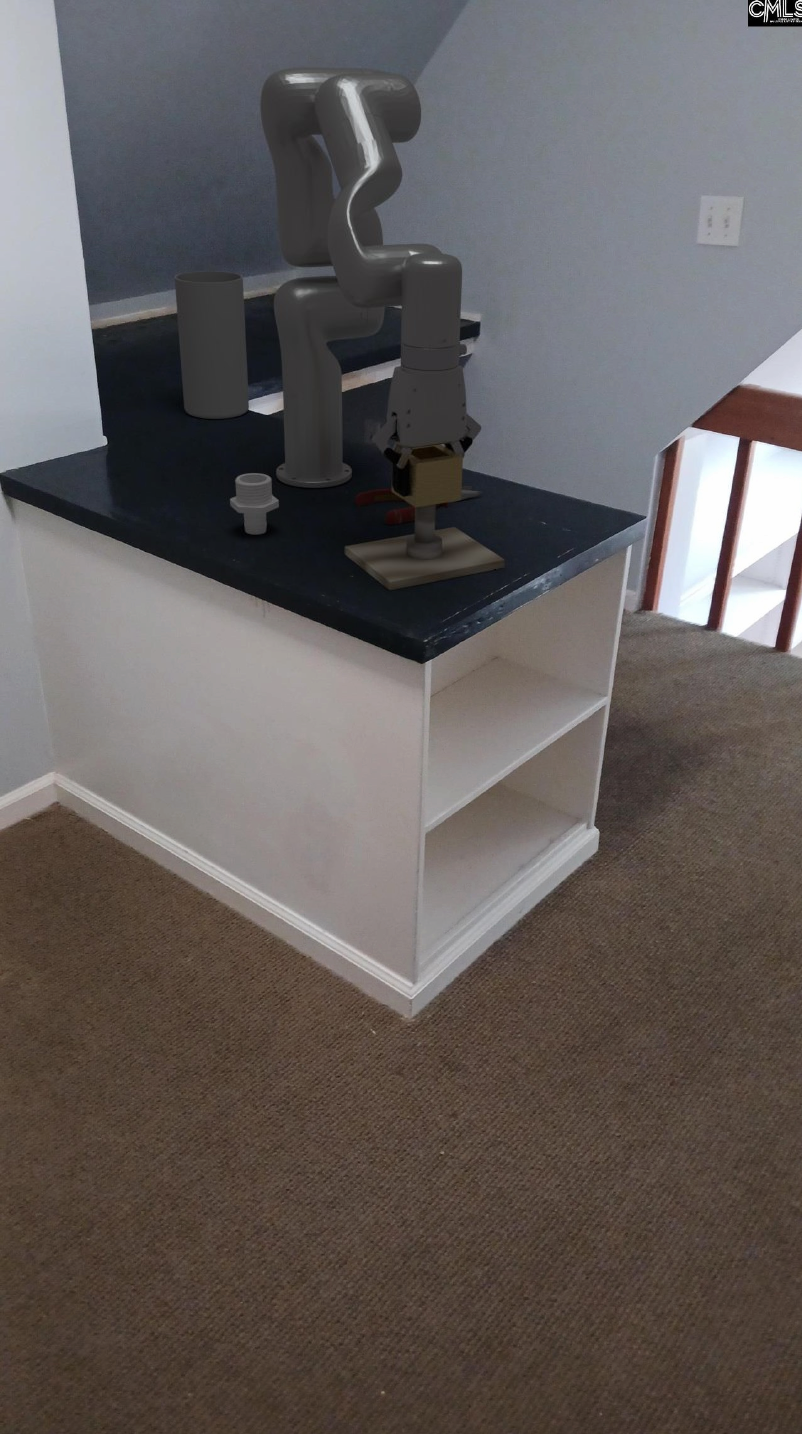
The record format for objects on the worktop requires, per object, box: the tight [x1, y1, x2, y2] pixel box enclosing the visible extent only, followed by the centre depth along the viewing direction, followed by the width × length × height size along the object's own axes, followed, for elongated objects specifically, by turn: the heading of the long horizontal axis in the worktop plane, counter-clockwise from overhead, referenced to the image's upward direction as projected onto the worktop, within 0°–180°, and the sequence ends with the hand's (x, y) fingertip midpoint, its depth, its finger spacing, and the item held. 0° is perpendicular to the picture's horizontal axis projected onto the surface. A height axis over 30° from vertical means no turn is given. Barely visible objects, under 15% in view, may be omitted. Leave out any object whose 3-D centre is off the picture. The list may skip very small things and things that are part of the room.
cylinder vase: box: [174, 270, 250, 420], centre depth 223 cm, size 12×12×25 cm
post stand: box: [344, 504, 506, 591], centre depth 162 cm, size 14×18×9 cm
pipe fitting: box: [229, 472, 280, 535], centre depth 172 cm, size 6×7×8 cm
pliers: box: [354, 485, 484, 526], centre depth 185 cm, size 12×20×3 cm, turn 122°
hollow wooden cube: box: [391, 444, 464, 507], centre depth 158 cm, size 7×7×6 cm
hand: (425, 488), depth 159 cm, fingers closed on hollow wooden cube, 7 cm apart
